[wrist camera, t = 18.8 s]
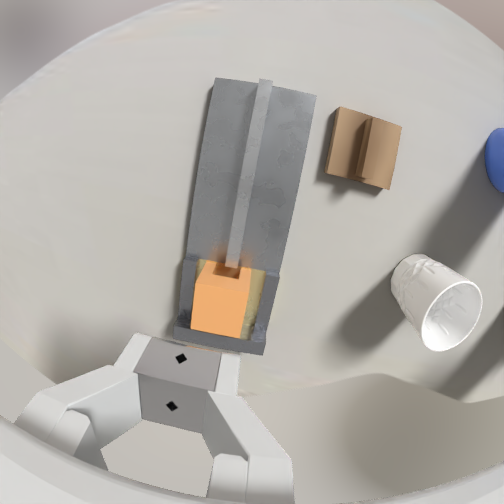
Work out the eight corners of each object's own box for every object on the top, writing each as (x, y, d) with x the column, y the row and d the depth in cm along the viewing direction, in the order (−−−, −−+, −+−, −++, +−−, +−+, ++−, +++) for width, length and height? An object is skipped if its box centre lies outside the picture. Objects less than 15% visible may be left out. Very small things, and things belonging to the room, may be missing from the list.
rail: (314, 98, 27) (322, 89, 22) (261, 337, 36) (261, 359, 31) (217, 81, 26) (210, 69, 22) (182, 321, 35) (172, 342, 31)
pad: (395, 127, 27) (410, 125, 24) (383, 188, 29) (397, 192, 26) (336, 108, 27) (345, 103, 24) (324, 172, 29) (331, 174, 26)
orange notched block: (206, 261, 31) (195, 282, 26) (251, 269, 31) (249, 292, 26) (200, 302, 33) (190, 328, 27) (243, 310, 33) (239, 338, 28)
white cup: (374, 293, 33) (406, 340, 24) (407, 237, 31) (453, 268, 21) (416, 314, 34) (451, 358, 25) (448, 264, 32) (493, 298, 22)
